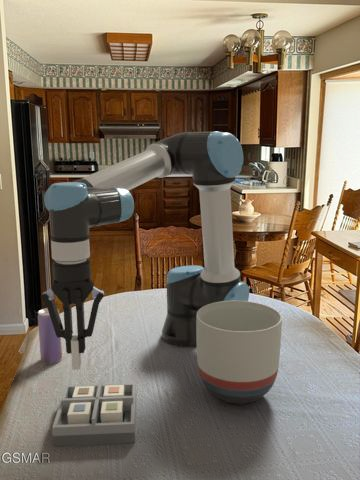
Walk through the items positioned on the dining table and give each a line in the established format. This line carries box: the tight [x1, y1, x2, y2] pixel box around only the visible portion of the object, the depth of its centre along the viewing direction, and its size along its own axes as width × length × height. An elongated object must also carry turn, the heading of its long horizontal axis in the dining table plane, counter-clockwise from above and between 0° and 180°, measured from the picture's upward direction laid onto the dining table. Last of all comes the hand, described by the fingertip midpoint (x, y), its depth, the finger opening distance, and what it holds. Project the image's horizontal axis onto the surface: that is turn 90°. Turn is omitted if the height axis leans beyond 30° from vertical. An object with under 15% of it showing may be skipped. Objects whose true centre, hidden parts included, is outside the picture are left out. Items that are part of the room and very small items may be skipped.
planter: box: [196, 300, 283, 405], centre depth 117 cm, size 20×20×21 cm
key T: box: [67, 402, 92, 425], centre depth 104 cm, size 4×4×3 cm
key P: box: [101, 401, 123, 423], centre depth 105 cm, size 4×4×3 cm
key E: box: [72, 386, 95, 398], centre depth 111 cm, size 4×4×3 cm
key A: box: [103, 385, 124, 397], centre depth 112 cm, size 4×4×3 cm
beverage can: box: [37, 307, 63, 365], centre depth 137 cm, size 6×6×15 cm
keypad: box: [51, 379, 137, 447], centre depth 109 cm, size 17×18×6 cm
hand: (76, 366), depth 102 cm, fingers closed
